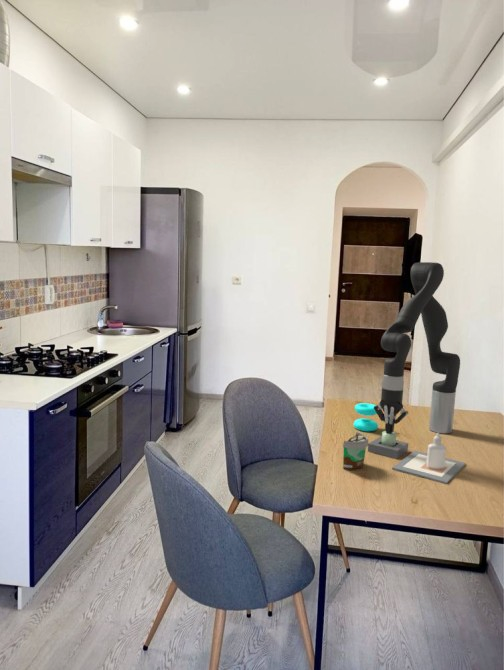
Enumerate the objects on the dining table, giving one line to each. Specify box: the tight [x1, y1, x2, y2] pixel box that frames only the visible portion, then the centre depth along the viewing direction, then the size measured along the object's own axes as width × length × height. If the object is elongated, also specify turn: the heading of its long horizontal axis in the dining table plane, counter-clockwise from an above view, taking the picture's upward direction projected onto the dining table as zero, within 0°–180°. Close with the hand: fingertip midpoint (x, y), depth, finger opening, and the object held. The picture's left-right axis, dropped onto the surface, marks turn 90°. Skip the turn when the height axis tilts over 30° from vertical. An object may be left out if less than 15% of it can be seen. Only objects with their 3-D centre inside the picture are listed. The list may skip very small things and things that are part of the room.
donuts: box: [353, 402, 379, 432], centre depth 220 cm, size 10×10×10 cm
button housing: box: [367, 435, 409, 460], centre depth 194 cm, size 11×11×3 cm
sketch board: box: [391, 450, 467, 485], centre depth 180 cm, size 22×18×1 cm
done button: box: [381, 430, 397, 447], centre depth 194 cm, size 5×5×6 cm
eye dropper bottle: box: [426, 432, 447, 469], centre depth 177 cm, size 4×6×12 cm
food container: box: [342, 432, 369, 471], centre depth 177 cm, size 12×6×10 cm, turn 148°
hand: (389, 433), depth 193 cm, fingers closed
